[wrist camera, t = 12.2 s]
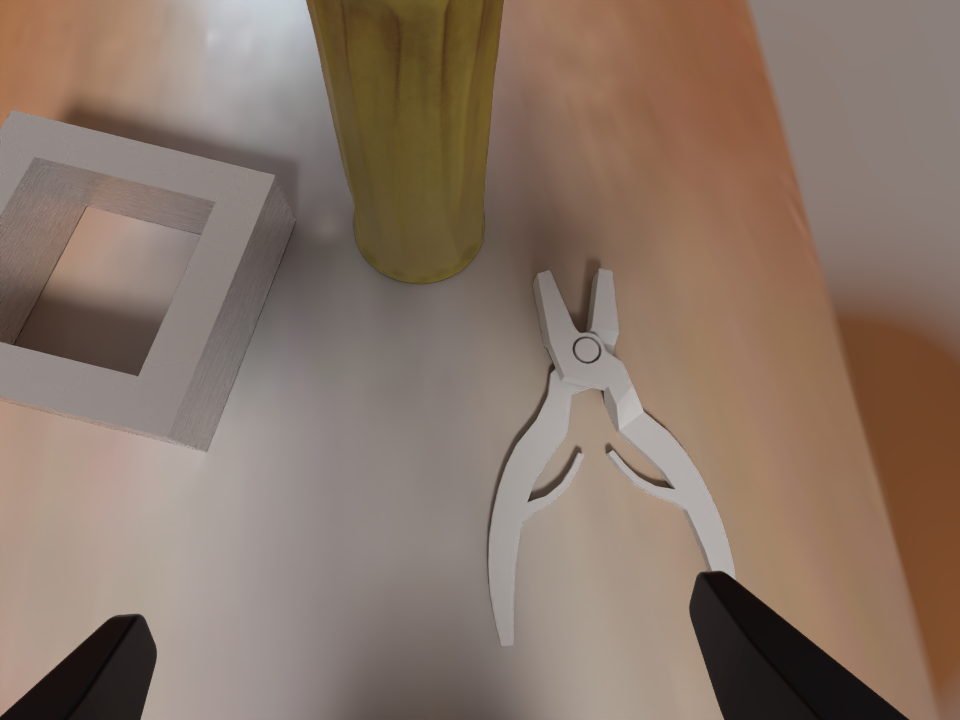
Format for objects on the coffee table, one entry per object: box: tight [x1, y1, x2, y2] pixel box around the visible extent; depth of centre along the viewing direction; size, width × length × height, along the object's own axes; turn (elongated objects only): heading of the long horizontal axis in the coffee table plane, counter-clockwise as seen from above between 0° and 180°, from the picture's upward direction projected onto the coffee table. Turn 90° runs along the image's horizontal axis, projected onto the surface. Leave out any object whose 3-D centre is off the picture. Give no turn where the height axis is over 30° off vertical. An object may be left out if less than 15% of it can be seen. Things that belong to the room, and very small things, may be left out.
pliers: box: [488, 268, 736, 647], centre depth 24 cm, size 10×2×15 cm
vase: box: [306, 0, 504, 284], centre depth 20 cm, size 6×6×14 cm
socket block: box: [0, 110, 296, 452], centre depth 23 cm, size 11×11×4 cm
